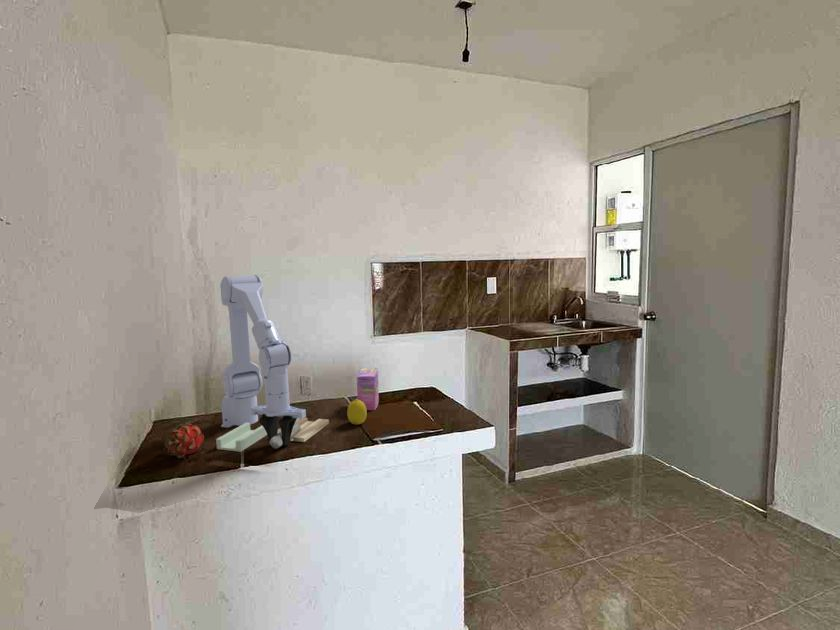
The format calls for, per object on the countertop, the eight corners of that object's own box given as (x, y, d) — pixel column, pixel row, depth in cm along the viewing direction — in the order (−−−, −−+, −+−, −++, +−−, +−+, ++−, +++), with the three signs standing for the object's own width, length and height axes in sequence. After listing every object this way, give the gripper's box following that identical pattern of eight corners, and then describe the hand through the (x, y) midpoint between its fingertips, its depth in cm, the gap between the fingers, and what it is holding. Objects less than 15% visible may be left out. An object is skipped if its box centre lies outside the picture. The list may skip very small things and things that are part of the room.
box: (376, 413, 146) (374, 375, 144) (357, 413, 146) (356, 376, 145) (379, 402, 156) (378, 367, 155) (362, 402, 156) (360, 368, 155)
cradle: (217, 452, 119) (216, 439, 118) (246, 434, 130) (245, 422, 130) (241, 455, 117) (240, 441, 116) (268, 436, 128) (268, 424, 128)
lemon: (363, 430, 132) (362, 402, 131) (345, 429, 133) (343, 401, 132) (369, 423, 137) (368, 396, 136) (351, 422, 138) (350, 395, 137)
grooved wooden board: (270, 442, 125) (270, 434, 125) (298, 423, 138) (297, 416, 138) (304, 445, 122) (304, 438, 122) (329, 426, 135) (328, 419, 135)
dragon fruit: (173, 473, 111) (190, 458, 123) (203, 449, 113) (217, 437, 124) (149, 445, 111) (169, 433, 123) (180, 422, 112) (196, 412, 124)
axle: (280, 448, 118) (279, 437, 117) (270, 448, 118) (269, 436, 118) (301, 433, 127) (300, 423, 127) (291, 433, 128) (290, 422, 128)
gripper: (242, 394, 117) (245, 447, 118) (294, 398, 113) (297, 452, 114) (259, 386, 123) (262, 436, 125) (308, 390, 119) (311, 441, 121)
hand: (280, 443), depth 120 cm, fingers closed on axle, 3 cm apart
